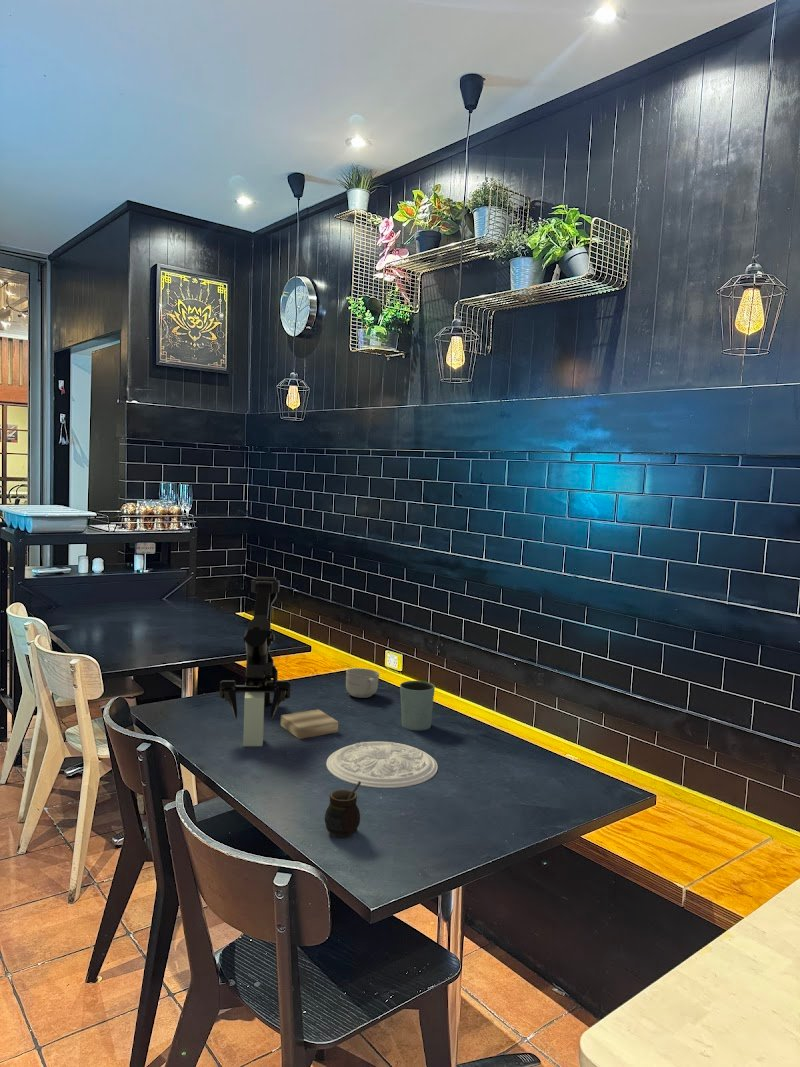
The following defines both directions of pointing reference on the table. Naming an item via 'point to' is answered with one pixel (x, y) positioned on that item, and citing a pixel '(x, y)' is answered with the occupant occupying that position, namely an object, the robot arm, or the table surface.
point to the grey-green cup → (416, 704)
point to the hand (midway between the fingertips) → (253, 718)
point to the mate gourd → (342, 813)
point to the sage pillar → (253, 719)
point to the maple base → (309, 723)
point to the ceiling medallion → (382, 765)
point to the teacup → (361, 682)
